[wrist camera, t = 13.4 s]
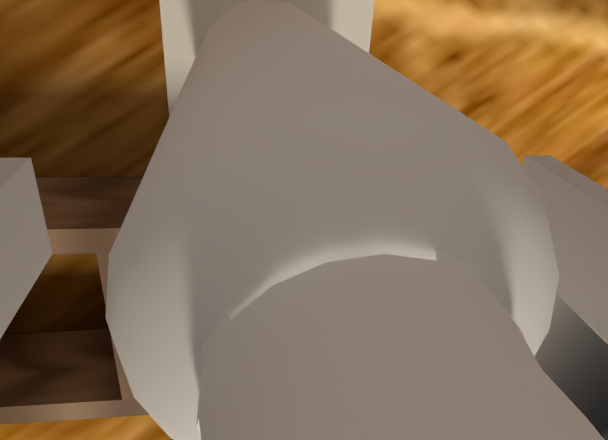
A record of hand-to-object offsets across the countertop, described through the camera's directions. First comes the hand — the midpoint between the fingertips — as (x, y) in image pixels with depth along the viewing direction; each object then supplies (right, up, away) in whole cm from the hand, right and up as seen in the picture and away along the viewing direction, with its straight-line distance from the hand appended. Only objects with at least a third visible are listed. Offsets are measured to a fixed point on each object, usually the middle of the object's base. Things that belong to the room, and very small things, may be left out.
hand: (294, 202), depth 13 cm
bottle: (-2, +8, +16) cm, 18 cm away
